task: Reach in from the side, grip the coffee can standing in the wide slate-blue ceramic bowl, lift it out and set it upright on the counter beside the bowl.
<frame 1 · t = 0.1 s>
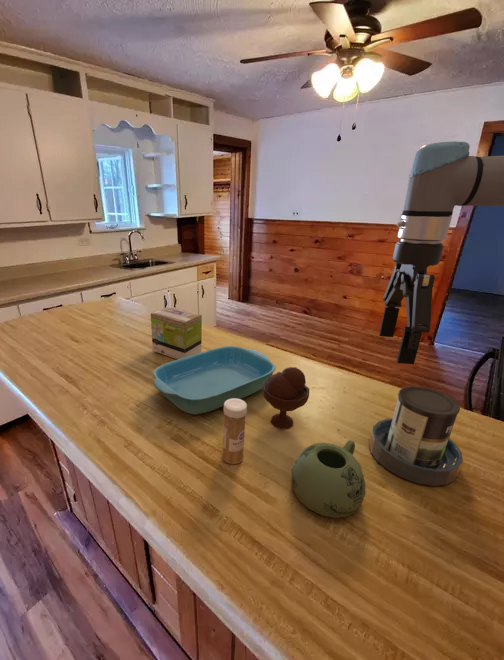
hand: (394, 348, 69), 23 cm above the countertop, tool pointing down, fingers open, 13 cm apart
tea box: (177, 353, 119), on the countertop
green ceramic pot: (328, 489, 64), on the countertop
ice cream bowl: (281, 422, 83), on the countertop
sprinkles bottle: (232, 458, 71), on the countertop
coffee can: (410, 456, 72), resting on serving bowl
serving bowl: (410, 456, 72), on the countertop
casserole dish: (215, 389, 97), on the countertop
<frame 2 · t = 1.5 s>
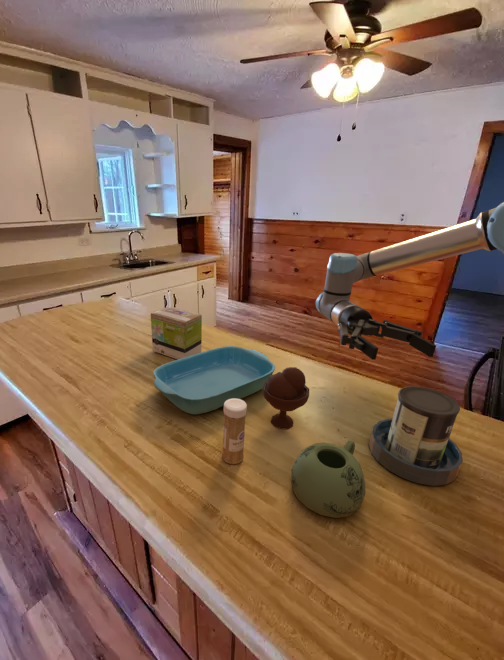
hand: (404, 352, 72), 20 cm above the countertop, tool horizontal, fingers open, 13 cm apart
nothing on the countertop moved.
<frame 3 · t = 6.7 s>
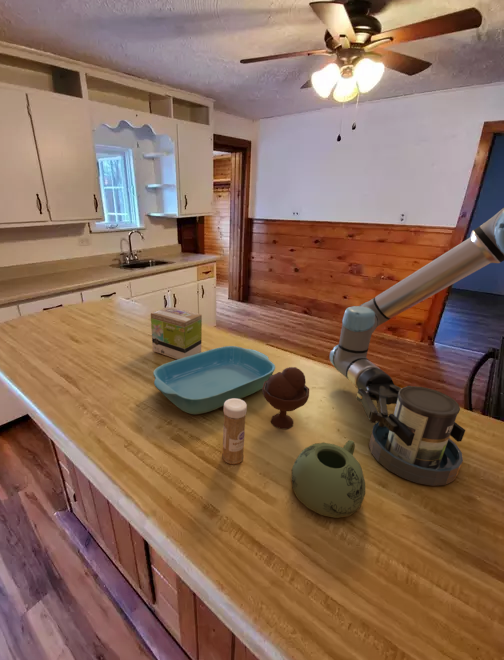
hand: (436, 438, 65), 9 cm above the countertop, tool horizontal, fingers closed on coffee can, 10 cm apart
coffee can: (410, 456, 72), resting on serving bowl, touching gripper
everything else where it was.
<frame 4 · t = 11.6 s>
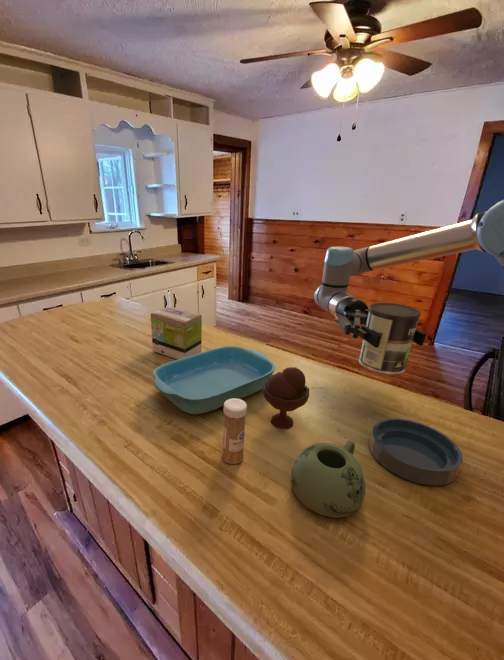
hand: (400, 340, 74), 22 cm above the countertop, tool horizontal, fingers closed on coffee can, 10 cm apart
coffee can: (380, 365, 81), point 14 cm above the countertop, touching gripper
everything else where it was.
when the fingers open (8 cm above the countertop, at t = 16.3 s): coffee can stays where it is, on the countertop.
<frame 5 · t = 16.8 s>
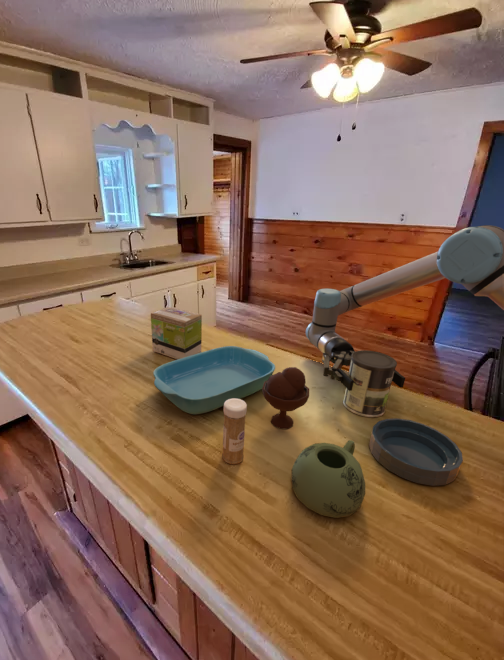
hand: (377, 384, 83), 9 cm above the countertop, tool horizontal, fingers open, 13 cm apart
coffee can: (363, 406, 89), on the countertop
everything else where it was.
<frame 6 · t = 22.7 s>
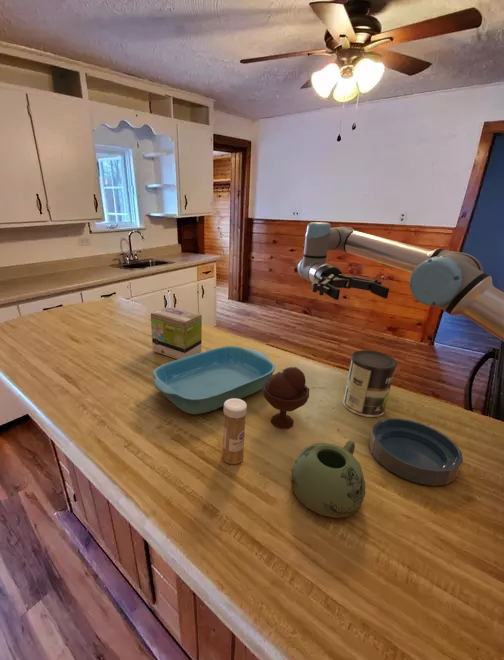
hand: (362, 294, 87), 28 cm above the countertop, tool horizontal, fingers open, 13 cm apart
nothing on the countertop moved.
at the end: coffee can inside the target area (0.1 cm from its centre), on the countertop; coffee can tilted 0°; coffee can touching countertop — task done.
